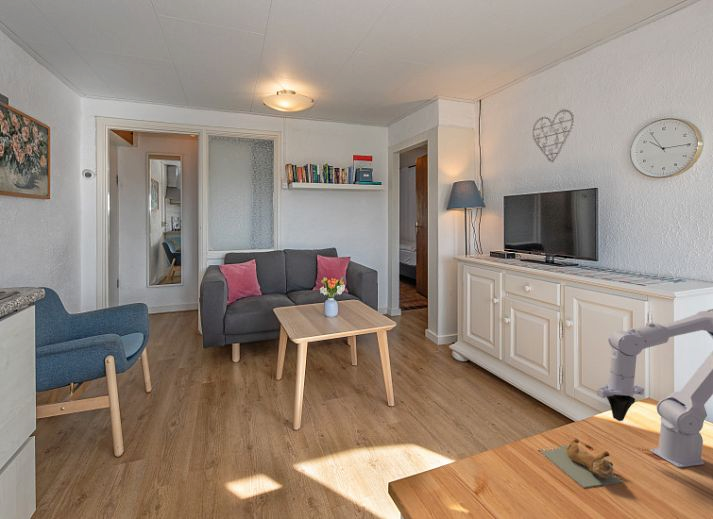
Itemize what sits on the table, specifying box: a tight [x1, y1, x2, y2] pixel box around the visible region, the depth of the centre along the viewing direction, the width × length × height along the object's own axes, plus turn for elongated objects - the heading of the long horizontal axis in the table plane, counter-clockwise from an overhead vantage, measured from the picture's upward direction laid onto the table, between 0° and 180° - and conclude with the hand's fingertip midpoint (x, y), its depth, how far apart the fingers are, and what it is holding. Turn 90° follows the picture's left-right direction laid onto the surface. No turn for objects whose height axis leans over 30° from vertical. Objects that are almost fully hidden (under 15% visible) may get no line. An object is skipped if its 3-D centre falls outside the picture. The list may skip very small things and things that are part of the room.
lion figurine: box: [566, 438, 614, 479], centre depth 98 cm, size 15×5×9 cm
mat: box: [539, 445, 624, 489], centre depth 99 cm, size 12×16×1 cm
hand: (618, 419), depth 106 cm, fingers closed
